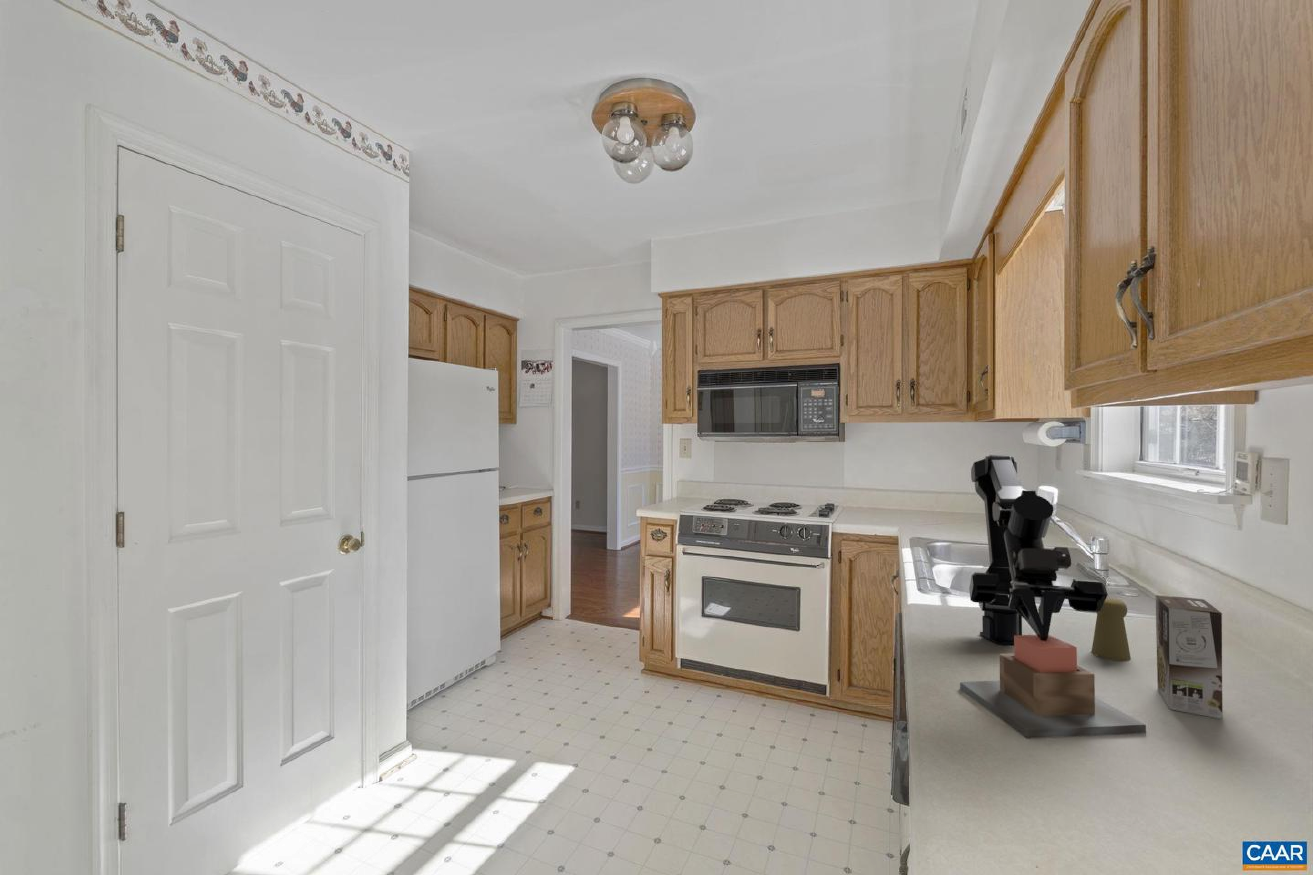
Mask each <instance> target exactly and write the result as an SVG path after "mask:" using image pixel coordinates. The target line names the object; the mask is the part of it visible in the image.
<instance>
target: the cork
mask: <svg viewBox="0 0 1313 875" xmlns="http://www.w3.org/2000/svg"><path fill="white" fill-rule="evenodd" d="M1095 613H1096V621H1095V626H1094V634H1093V640H1092V647H1091V653H1092V655H1095V656H1096V657H1100V658H1103V659H1106V660H1111V661H1118V662H1119V661H1121V662H1127V661H1130V660H1131V658H1132V657H1131V652H1130V648H1129V646H1130V645H1129V642H1128V635H1127V631H1126V630H1127V629H1126V624H1125V619H1124V618H1125V617H1126V616H1127V615H1128V607H1127V604H1126V603H1125V602H1124V601H1122V600H1121V599H1117V598H1114V597H1108V596H1107V597H1106V599H1105V602H1104V604H1103V606H1102V608H1101V610H1100V611H1098V612H1095Z"/></svg>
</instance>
